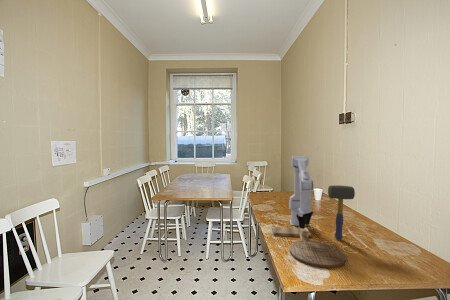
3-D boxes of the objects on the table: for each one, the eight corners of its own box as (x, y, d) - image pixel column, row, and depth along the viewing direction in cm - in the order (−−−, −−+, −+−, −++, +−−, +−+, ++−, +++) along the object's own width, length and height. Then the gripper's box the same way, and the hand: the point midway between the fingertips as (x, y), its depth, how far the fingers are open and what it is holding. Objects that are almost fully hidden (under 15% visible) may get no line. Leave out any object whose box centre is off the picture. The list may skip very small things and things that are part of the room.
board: (307, 231, 147) (307, 228, 147) (311, 237, 138) (311, 234, 138) (271, 229, 148) (271, 226, 148) (273, 235, 139) (273, 232, 139)
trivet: (353, 272, 104) (353, 267, 103) (292, 265, 108) (292, 261, 107) (336, 246, 128) (336, 242, 128) (287, 241, 132) (287, 238, 132)
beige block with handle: (302, 232, 145) (302, 223, 145) (308, 242, 132) (309, 231, 131) (296, 232, 145) (296, 222, 145) (302, 241, 132) (302, 231, 132)
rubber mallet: (328, 241, 134) (331, 186, 132) (324, 235, 141) (327, 183, 140) (352, 243, 132) (356, 187, 130) (347, 237, 140) (350, 184, 138)
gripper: (302, 198, 142) (301, 221, 143) (293, 203, 131) (292, 228, 132) (315, 200, 138) (314, 224, 139) (306, 205, 127) (305, 231, 127)
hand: (304, 226), depth 135 cm, fingers open, 7 cm apart
